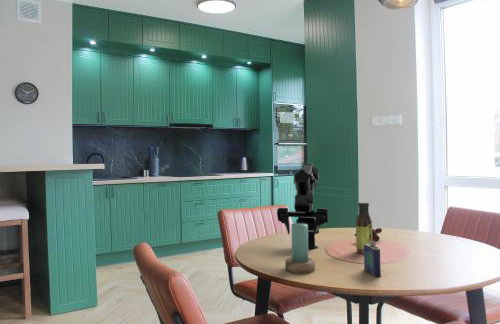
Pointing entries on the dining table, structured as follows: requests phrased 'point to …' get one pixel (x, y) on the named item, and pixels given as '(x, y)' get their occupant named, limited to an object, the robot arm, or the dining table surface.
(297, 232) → the teal upright cylinder
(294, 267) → the stand
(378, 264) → the flask
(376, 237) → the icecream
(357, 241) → the sauce bottle
